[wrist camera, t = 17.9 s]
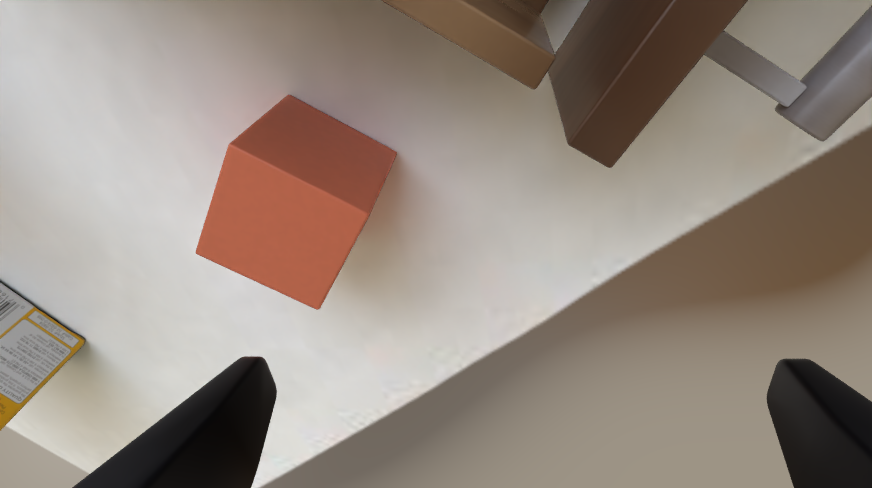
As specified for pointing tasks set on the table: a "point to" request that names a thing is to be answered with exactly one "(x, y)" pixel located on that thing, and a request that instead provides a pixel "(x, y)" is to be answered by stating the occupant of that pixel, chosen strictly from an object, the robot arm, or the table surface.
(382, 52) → the table surface
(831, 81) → the drawer
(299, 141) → the orange-red cube
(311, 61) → the table surface
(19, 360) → the crayon box
